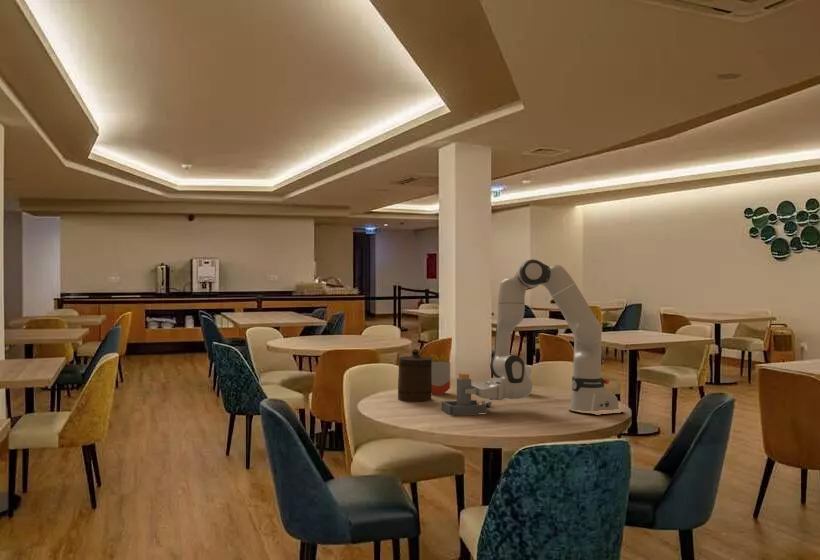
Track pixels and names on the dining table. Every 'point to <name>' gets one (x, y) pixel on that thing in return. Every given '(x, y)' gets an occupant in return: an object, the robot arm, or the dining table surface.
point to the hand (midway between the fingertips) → (461, 389)
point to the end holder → (462, 408)
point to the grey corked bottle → (462, 384)
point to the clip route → (486, 403)
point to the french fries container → (440, 374)
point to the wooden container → (414, 378)
